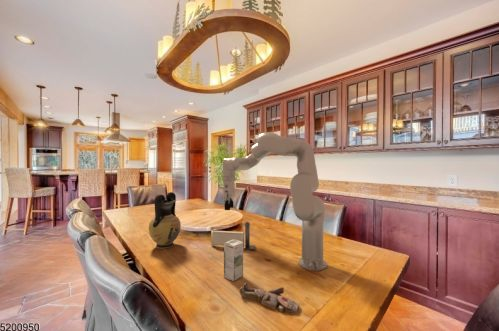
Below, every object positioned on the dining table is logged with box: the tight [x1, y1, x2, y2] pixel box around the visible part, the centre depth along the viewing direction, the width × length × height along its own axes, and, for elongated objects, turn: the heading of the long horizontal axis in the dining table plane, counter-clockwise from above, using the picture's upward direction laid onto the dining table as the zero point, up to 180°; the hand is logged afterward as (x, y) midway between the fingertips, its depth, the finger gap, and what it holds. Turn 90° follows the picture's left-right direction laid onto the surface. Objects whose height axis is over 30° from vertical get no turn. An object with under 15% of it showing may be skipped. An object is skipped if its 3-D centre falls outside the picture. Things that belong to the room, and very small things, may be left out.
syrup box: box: [223, 239, 244, 282], centre depth 93 cm, size 6×6×14 cm
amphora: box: [148, 191, 182, 250], centre depth 128 cm, size 18×17×30 cm
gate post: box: [244, 221, 256, 251], centre depth 123 cm, size 5×5×15 cm
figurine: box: [239, 281, 300, 315], centre depth 76 cm, size 7×5×20 cm
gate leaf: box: [210, 230, 245, 249], centre depth 126 cm, size 2×19×8 cm, turn 80°
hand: (229, 208), depth 135 cm, fingers open, 6 cm apart
